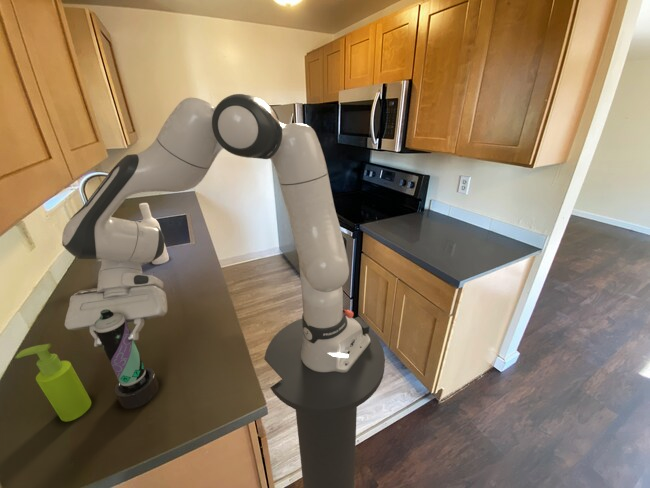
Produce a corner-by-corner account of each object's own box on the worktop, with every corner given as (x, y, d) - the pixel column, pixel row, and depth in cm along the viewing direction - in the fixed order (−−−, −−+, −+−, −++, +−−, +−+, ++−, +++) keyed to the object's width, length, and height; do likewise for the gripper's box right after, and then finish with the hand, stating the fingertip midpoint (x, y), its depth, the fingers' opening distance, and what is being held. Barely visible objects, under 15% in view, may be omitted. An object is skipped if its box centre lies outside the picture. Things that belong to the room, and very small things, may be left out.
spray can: (114, 386, 66) (82, 319, 58) (128, 368, 71) (101, 304, 63) (137, 385, 66) (109, 318, 58) (150, 367, 71) (125, 303, 63)
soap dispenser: (61, 404, 68) (23, 343, 60) (95, 395, 70) (62, 334, 62) (50, 427, 63) (7, 363, 55) (86, 416, 65) (50, 353, 57)
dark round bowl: (154, 374, 76) (149, 362, 74) (162, 394, 70) (157, 381, 69) (118, 392, 71) (112, 380, 69) (123, 416, 65) (117, 403, 63)
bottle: (153, 259, 142) (135, 202, 130) (170, 256, 144) (154, 200, 132) (150, 265, 135) (131, 206, 123) (168, 263, 138) (151, 204, 125)
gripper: (61, 288, 63) (53, 352, 58) (160, 275, 67) (159, 333, 62) (80, 294, 68) (73, 352, 64) (169, 281, 73) (169, 335, 68)
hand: (117, 343), depth 63 cm, fingers closed on spray can, 5 cm apart
